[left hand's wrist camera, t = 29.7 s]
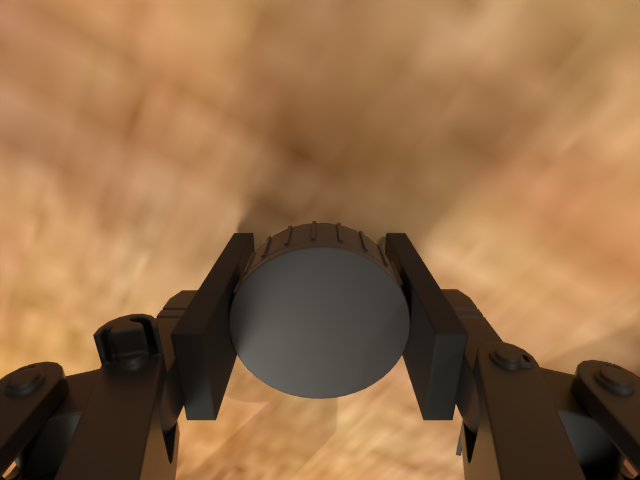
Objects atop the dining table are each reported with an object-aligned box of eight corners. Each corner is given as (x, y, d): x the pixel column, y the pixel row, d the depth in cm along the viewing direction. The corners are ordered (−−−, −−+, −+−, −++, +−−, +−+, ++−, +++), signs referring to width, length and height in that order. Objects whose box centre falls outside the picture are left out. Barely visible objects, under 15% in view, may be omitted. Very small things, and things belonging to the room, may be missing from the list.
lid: (420, 239, 12) (439, 266, 10) (374, 369, 14) (382, 413, 12) (253, 203, 11) (239, 225, 9) (231, 343, 13) (216, 384, 11)
